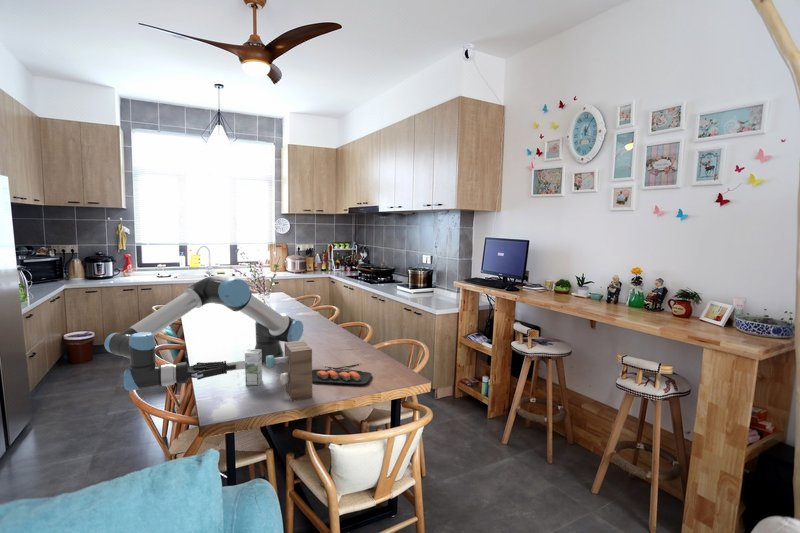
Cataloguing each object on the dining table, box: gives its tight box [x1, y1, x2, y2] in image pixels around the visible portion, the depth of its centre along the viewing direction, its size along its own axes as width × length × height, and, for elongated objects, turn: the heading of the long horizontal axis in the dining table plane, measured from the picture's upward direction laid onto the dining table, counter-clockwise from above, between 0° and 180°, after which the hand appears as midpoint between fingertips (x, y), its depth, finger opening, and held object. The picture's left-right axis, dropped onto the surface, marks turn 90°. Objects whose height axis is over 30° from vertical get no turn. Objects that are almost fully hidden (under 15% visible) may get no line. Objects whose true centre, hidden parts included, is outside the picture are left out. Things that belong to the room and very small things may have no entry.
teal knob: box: [265, 355, 289, 368], centre depth 166 cm, size 5×10×5 cm, turn 116°
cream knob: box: [280, 372, 289, 386], centre depth 169 cm, size 5×10×5 cm, turn 116°
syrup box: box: [244, 348, 263, 386], centre depth 180 cm, size 6×6×14 cm
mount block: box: [283, 340, 313, 402], centre depth 169 cm, size 14×8×20 cm, turn 26°
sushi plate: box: [312, 363, 373, 385], centre depth 195 cm, size 29×30×4 cm
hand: (244, 364), depth 160 cm, fingers closed
